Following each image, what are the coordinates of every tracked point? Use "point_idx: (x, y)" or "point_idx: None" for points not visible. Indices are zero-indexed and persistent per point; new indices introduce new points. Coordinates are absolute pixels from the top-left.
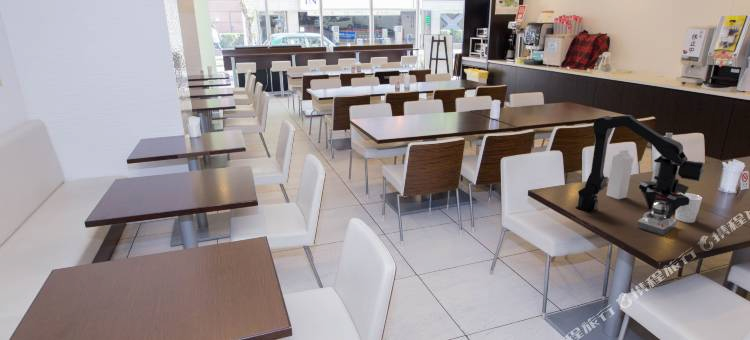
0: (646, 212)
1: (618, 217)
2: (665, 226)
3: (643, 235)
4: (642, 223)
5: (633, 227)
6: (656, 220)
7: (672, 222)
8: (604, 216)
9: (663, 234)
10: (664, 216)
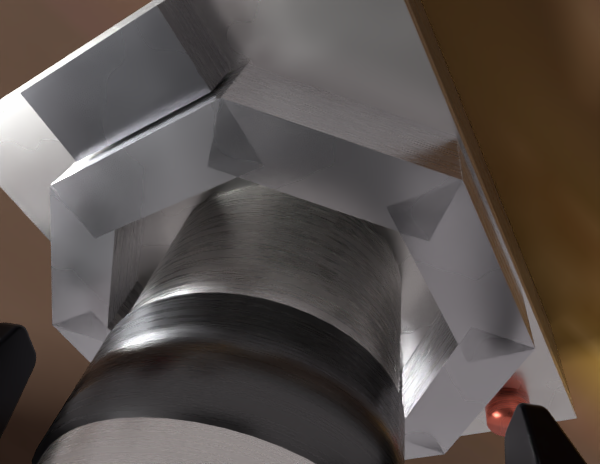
0: None
1: None
2: (543, 371)
3: (462, 458)
4: None
5: None
6: (407, 452)
7: (458, 142)
8: (23, 428)
9: (546, 317)
10: (398, 387)
